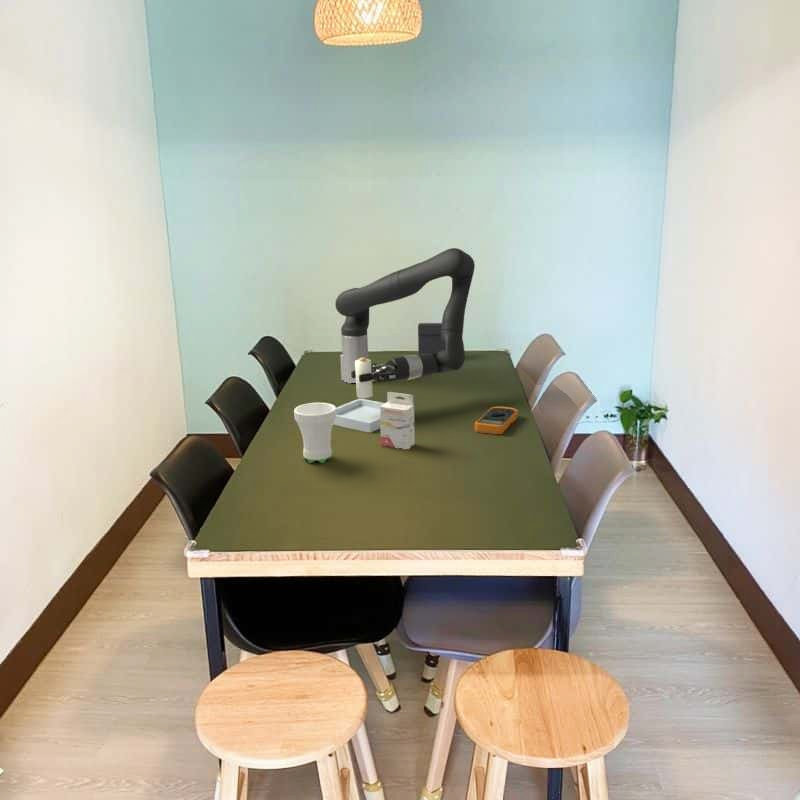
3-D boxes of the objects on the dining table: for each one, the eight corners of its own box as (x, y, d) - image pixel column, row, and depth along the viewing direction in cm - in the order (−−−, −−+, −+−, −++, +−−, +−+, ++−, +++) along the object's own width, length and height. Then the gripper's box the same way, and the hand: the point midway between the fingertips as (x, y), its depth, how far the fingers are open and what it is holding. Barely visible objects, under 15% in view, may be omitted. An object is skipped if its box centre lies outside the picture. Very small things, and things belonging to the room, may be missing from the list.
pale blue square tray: (323, 422, 241) (323, 413, 240) (360, 407, 255) (359, 398, 254) (369, 432, 231) (369, 423, 230) (405, 416, 245) (405, 407, 244)
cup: (305, 469, 205) (302, 417, 201) (291, 456, 214) (287, 406, 210) (345, 461, 210) (343, 410, 206) (329, 448, 219) (326, 400, 215)
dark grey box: (447, 359, 312) (446, 322, 307) (446, 362, 308) (446, 324, 303) (419, 359, 313) (418, 322, 308) (418, 362, 309) (417, 324, 304)
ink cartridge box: (380, 446, 220) (378, 395, 216) (387, 440, 225) (386, 391, 220) (408, 450, 217) (407, 399, 212) (415, 444, 221) (414, 394, 217)
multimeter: (519, 418, 242) (519, 407, 241) (502, 437, 226) (502, 425, 225) (492, 415, 245) (492, 404, 244) (473, 433, 230) (473, 422, 229)
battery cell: (353, 396, 240) (351, 359, 237) (363, 392, 244) (361, 355, 241) (366, 399, 238) (364, 361, 234) (375, 395, 241) (374, 357, 238)
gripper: (393, 352, 250) (344, 360, 243) (416, 361, 238) (365, 369, 230) (394, 374, 253) (346, 383, 245) (416, 384, 241) (366, 394, 233)
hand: (355, 376), depth 238 cm, fingers closed on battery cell, 4 cm apart
